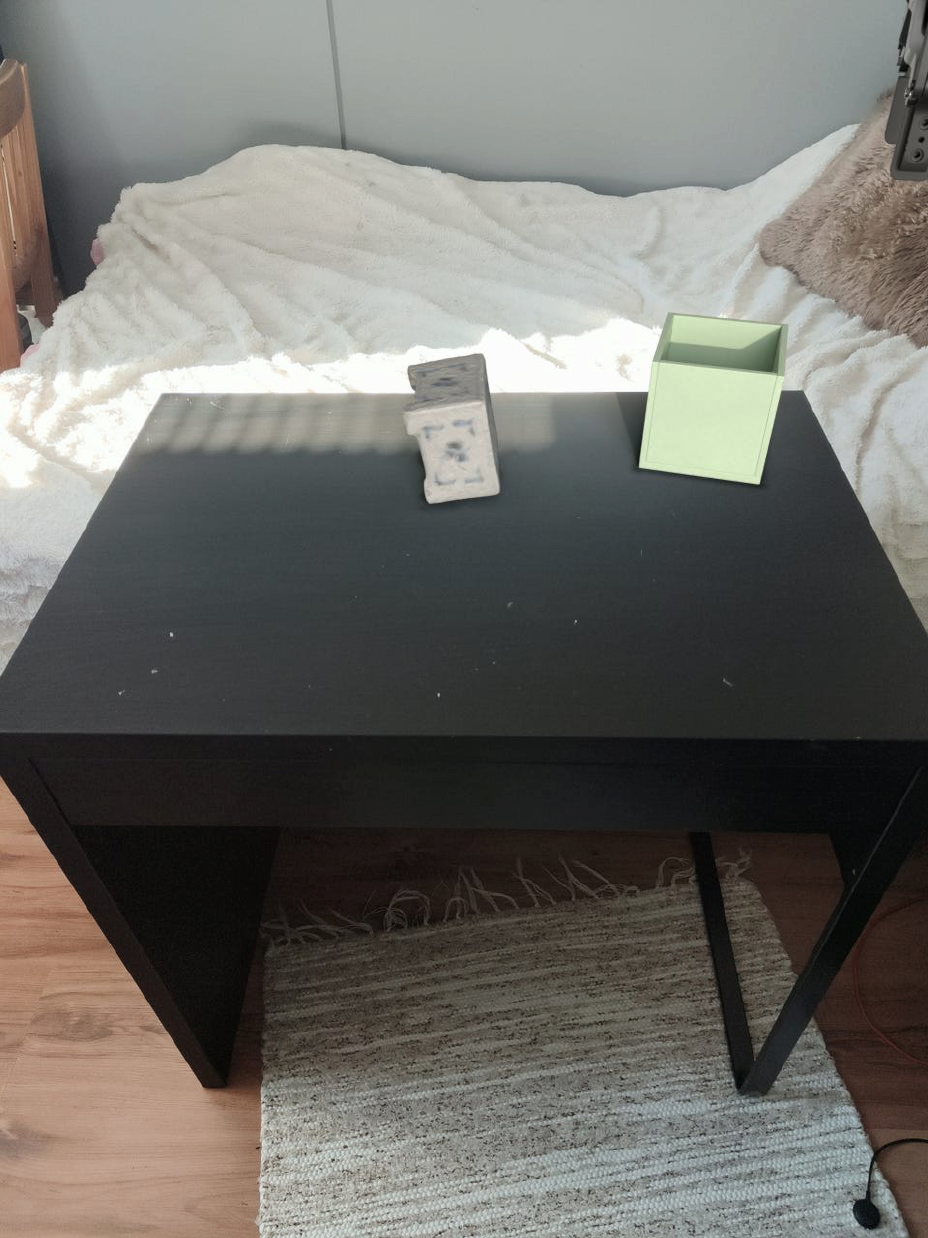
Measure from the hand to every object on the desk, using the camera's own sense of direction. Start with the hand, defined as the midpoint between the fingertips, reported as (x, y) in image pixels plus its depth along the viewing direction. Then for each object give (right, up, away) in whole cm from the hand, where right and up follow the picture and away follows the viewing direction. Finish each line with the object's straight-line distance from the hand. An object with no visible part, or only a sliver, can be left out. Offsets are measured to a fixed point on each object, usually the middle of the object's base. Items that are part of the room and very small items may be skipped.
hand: (904, 159), depth 55 cm
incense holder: (-28, -15, +31) cm, 44 cm away
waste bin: (-3, -11, +34) cm, 36 cm away
